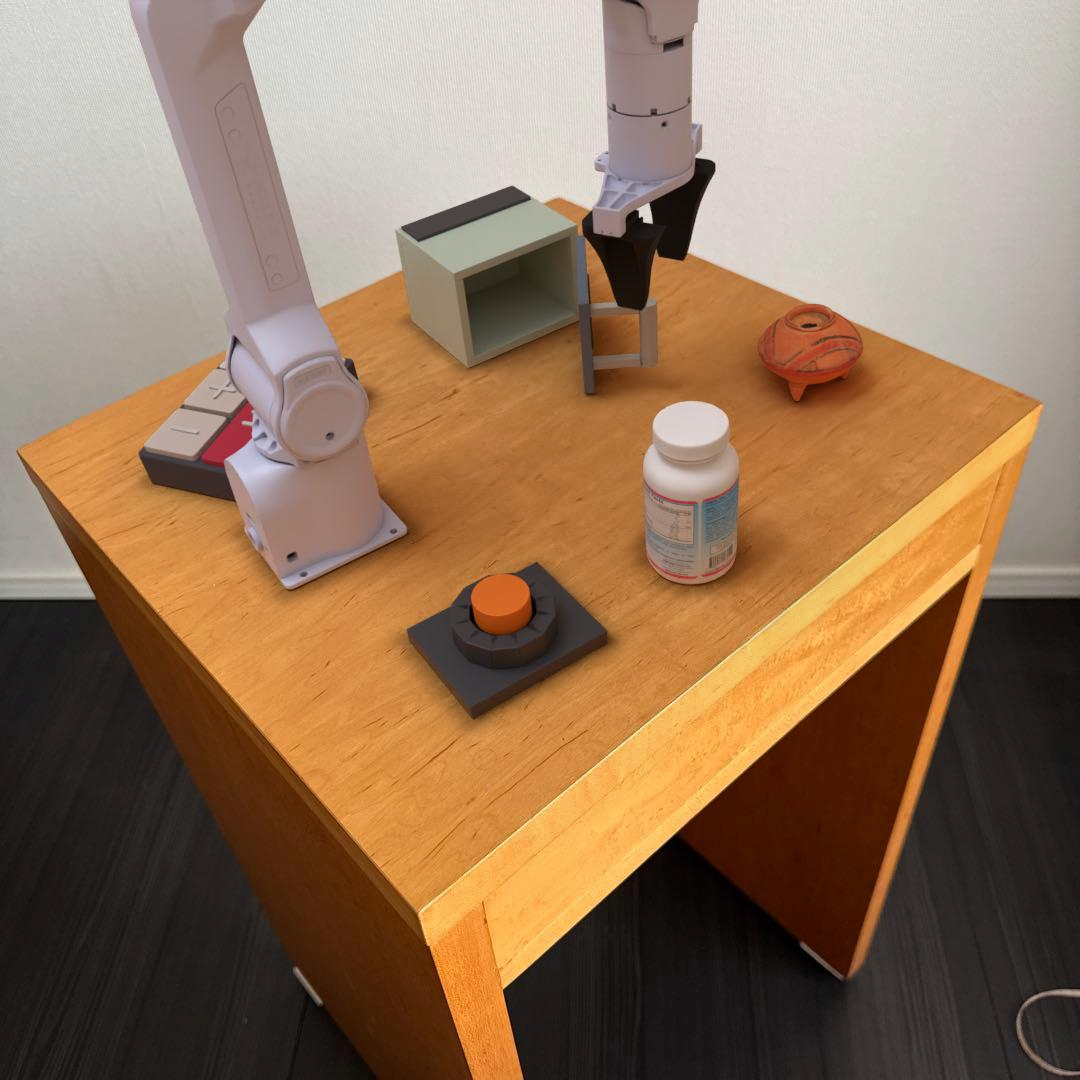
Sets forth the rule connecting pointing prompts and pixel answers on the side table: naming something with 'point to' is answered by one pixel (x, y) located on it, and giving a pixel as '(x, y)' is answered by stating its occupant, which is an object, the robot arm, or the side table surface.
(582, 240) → the washer door
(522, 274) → the washer
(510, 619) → the button
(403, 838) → the side table surface
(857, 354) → the pot
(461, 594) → the block
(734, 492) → the pill bottle
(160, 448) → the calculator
